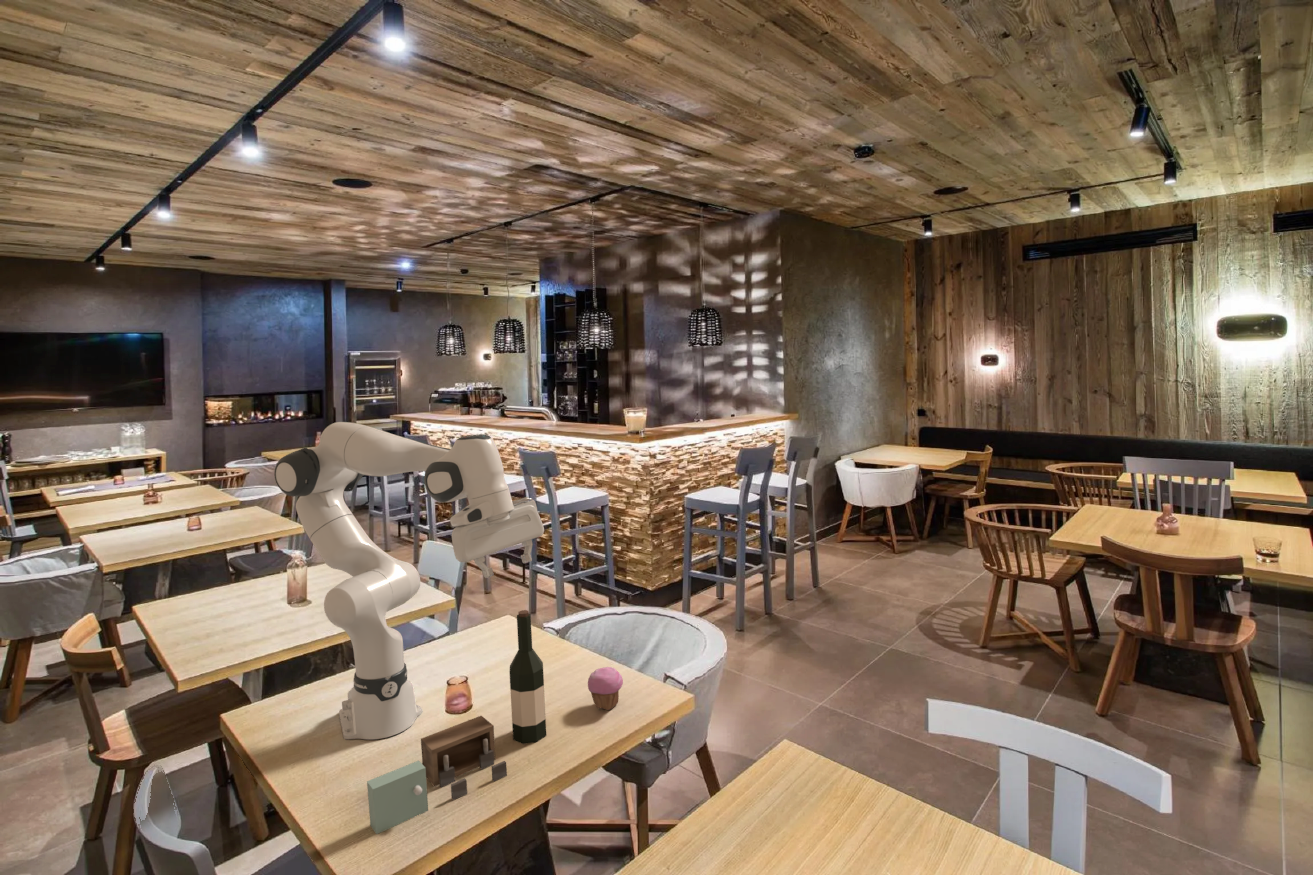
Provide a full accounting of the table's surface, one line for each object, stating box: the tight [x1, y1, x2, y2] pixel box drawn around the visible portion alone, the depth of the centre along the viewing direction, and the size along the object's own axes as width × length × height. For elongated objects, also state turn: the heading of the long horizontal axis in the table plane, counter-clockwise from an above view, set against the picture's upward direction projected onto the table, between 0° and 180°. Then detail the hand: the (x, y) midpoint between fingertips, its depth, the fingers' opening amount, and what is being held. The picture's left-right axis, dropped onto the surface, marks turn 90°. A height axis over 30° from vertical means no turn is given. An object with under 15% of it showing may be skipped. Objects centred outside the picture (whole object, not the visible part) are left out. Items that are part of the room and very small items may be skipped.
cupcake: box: [587, 666, 624, 711], centre depth 171 cm, size 9×9×10 cm
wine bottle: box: [508, 609, 547, 745], centre depth 158 cm, size 8×8×30 cm
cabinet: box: [420, 715, 508, 801], centre depth 144 cm, size 13×14×8 cm
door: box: [366, 760, 429, 835], centre depth 130 cm, size 5×10×9 cm, turn 131°
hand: (508, 569), depth 144 cm, fingers open, 8 cm apart
